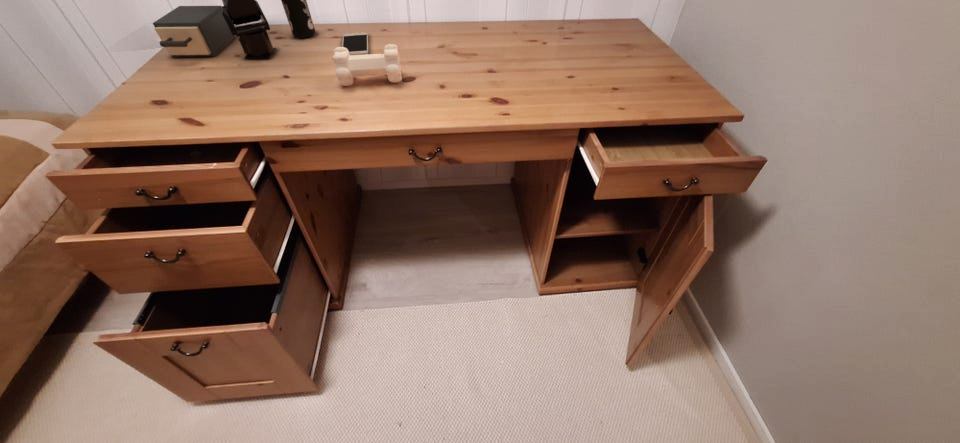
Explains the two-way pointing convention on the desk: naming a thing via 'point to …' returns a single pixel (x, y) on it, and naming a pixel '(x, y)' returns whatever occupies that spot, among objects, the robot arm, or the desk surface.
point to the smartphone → (356, 43)
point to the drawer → (182, 40)
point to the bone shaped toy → (367, 65)
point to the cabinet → (201, 25)
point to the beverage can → (299, 18)
